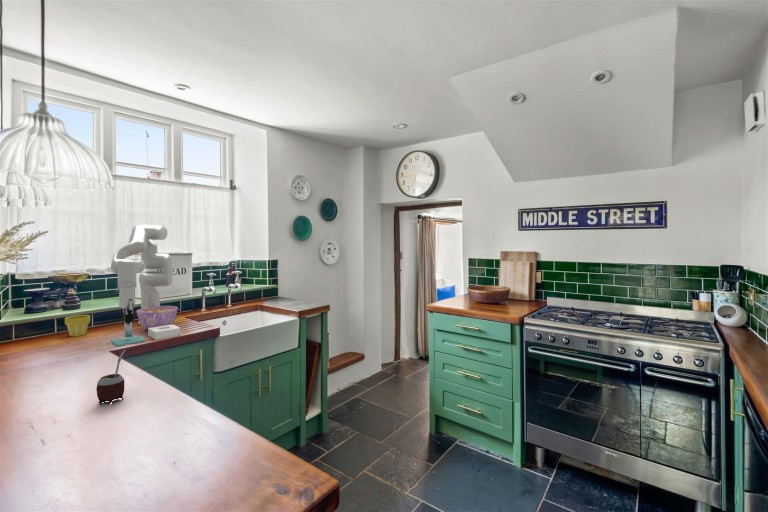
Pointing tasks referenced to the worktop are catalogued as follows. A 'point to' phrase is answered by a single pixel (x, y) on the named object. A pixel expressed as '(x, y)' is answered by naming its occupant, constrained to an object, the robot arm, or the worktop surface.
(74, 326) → the plant pot
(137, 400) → the worktop surface
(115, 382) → the mate gourd
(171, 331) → the eye block
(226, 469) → the worktop surface
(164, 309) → the bowl of food
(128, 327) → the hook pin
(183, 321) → the worktop surface
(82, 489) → the worktop surface
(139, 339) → the mat
